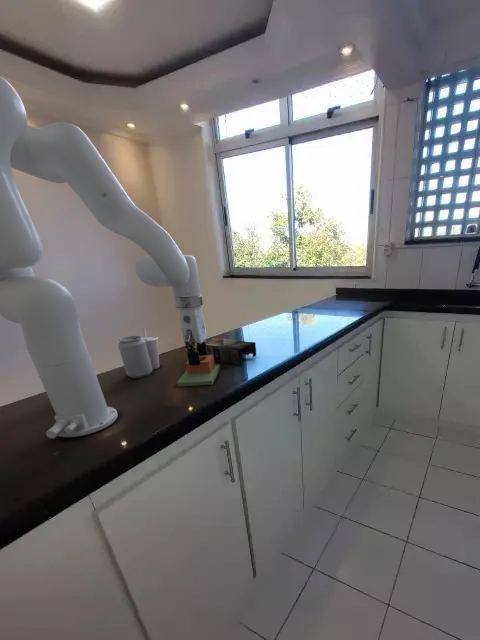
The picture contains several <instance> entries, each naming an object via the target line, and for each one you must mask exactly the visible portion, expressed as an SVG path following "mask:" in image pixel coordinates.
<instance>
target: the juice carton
mask: <svg viewBox="0 0 480 640" xmlns="http://www.w3.org/2000/svg"><path fill="white" fill-rule="evenodd" d="M205 343H206V348H207V355H213V357H214V362H215V361H216V362H220V363H225V364H231V365H237V366H242V365H243V356H247V357H248V356H249V355H252V358H255V357H257V348H256V345H257V343H256V342H255V341H246V340H245V341H244V340H236V339H226V338H219V337H212V338H210V339H209V338H208V339H205Z"/></svg>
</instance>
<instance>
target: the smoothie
mask: <svg viewBox="0 0 480 640" xmlns="http://www.w3.org/2000/svg"><path fill="white" fill-rule="evenodd" d="M141 328H142V332H143V336H144V337H142V339H143V340H144V341H145V343H146V347H147V351H148V354H149V358H150V362H151V366H152V370H156V369H159V368H160V355H159V354H160V353H159V338H158V336H157V337H156V336H147V332H146V328H145V325H142V327H141Z"/></svg>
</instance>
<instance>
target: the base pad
mask: <svg viewBox="0 0 480 640" xmlns="http://www.w3.org/2000/svg"><path fill="white" fill-rule="evenodd" d="M200 361H204V360H202V359H201V360H200ZM220 370H221V364H215V366H214V368H213V369H212V371H211V373H198V374H188V373H187V369H185V371H184V373H183V374H182V375H181V376H180V378H179V379H178V380H177V381H176V386H177V387H194V386H210V385H211V386H212V385H213V384H214V382H215V380H216V378H217V377H218V374H219V372H220Z"/></svg>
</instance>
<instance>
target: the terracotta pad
mask: <svg viewBox="0 0 480 640" xmlns="http://www.w3.org/2000/svg"><path fill="white" fill-rule="evenodd" d="M199 357H200V360H201V359H202V360H204V361H200V363H201V364H200V365H189V361H188V360H187V361H186V362H185V367H186V370H187V373H188V374H198V373H211V371H212V369H213V368H214V366H215V365H216V363H215V360H214V357H213V355H202V356H199Z"/></svg>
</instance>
